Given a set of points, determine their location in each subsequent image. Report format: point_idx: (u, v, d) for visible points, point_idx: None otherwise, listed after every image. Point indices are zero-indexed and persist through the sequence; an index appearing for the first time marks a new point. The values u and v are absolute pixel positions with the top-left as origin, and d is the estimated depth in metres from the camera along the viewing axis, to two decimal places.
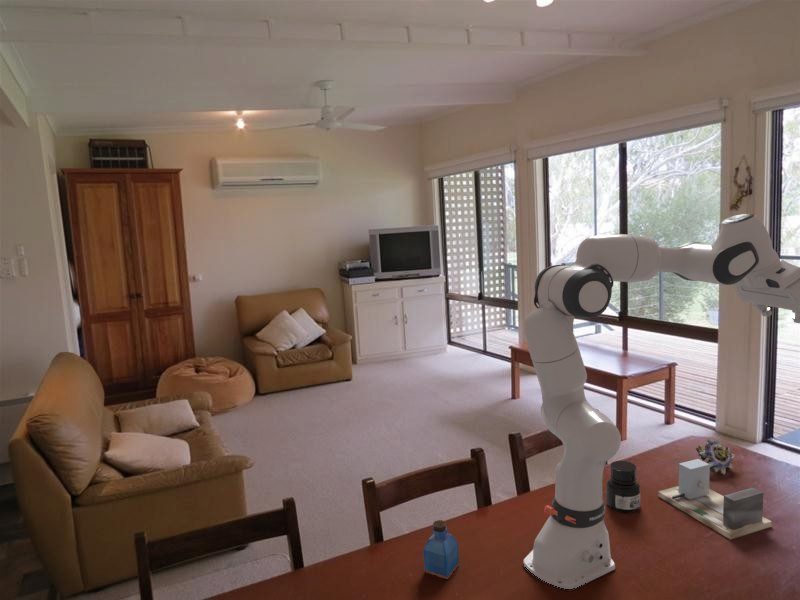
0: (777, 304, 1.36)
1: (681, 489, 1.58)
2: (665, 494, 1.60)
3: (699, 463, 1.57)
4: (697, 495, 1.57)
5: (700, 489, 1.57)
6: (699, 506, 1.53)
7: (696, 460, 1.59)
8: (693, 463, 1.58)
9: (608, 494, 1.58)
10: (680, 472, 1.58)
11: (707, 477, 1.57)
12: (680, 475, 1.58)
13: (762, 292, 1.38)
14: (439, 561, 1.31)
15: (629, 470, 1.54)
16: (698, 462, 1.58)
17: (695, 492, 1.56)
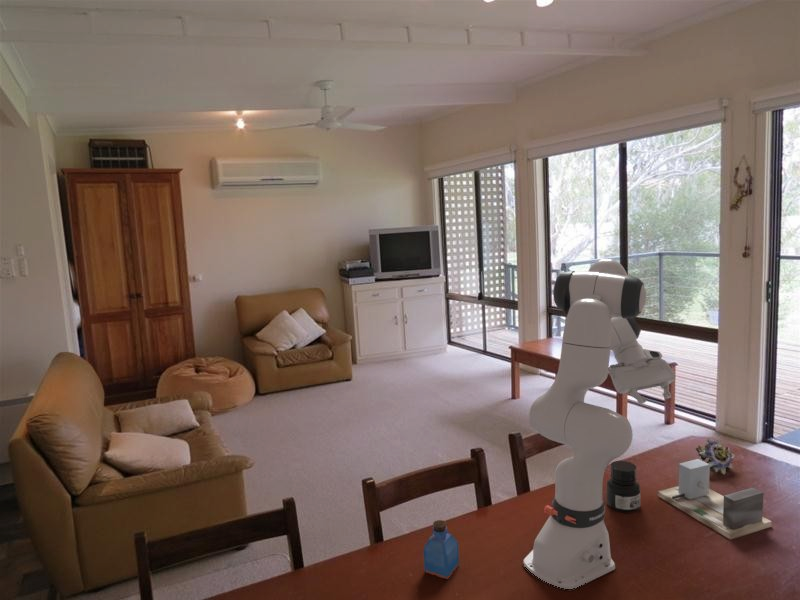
0: (655, 378, 1.70)
1: (681, 489, 1.58)
2: (665, 494, 1.60)
3: (699, 463, 1.57)
4: (697, 495, 1.57)
5: (700, 489, 1.57)
6: (699, 506, 1.53)
7: (696, 460, 1.59)
8: (693, 463, 1.58)
9: (608, 494, 1.58)
10: (680, 472, 1.58)
11: (707, 477, 1.57)
12: (680, 475, 1.58)
13: (641, 372, 1.71)
14: (439, 561, 1.31)
15: (629, 470, 1.54)
16: (698, 462, 1.58)
17: (695, 492, 1.56)
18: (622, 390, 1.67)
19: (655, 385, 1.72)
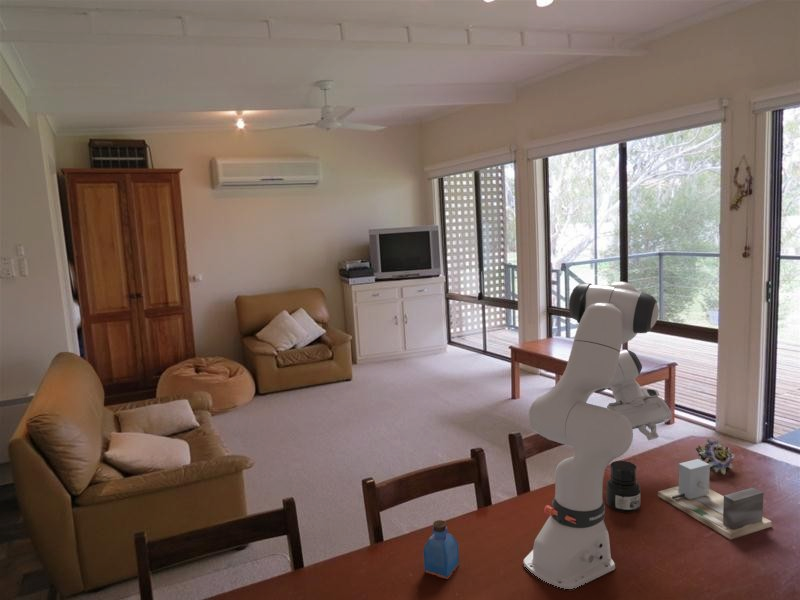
0: (653, 417, 1.74)
1: (681, 489, 1.58)
2: (665, 494, 1.60)
3: (699, 463, 1.57)
4: (697, 495, 1.57)
5: (700, 489, 1.57)
6: (699, 506, 1.53)
7: (696, 460, 1.59)
8: (693, 463, 1.58)
9: (608, 494, 1.58)
10: (680, 472, 1.58)
11: (707, 477, 1.57)
12: (680, 475, 1.58)
13: (639, 411, 1.75)
14: (439, 561, 1.31)
15: (629, 470, 1.54)
16: (698, 462, 1.58)
17: (695, 492, 1.56)
18: None
19: None
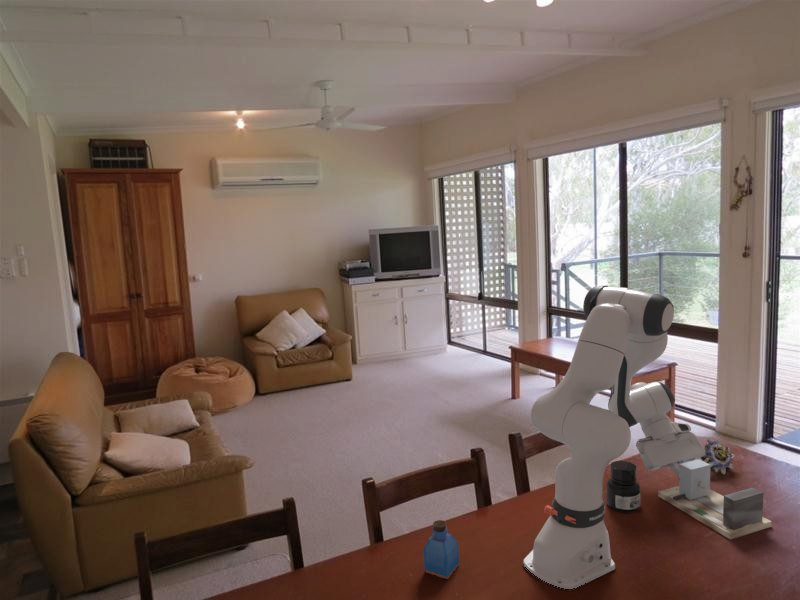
0: (686, 454, 1.63)
1: (682, 489, 1.58)
2: (665, 494, 1.60)
3: (700, 464, 1.57)
4: (698, 495, 1.56)
5: (701, 489, 1.56)
6: (699, 506, 1.53)
7: (697, 460, 1.59)
8: (694, 463, 1.58)
9: (608, 494, 1.58)
10: (681, 472, 1.58)
11: (708, 477, 1.57)
12: (681, 475, 1.58)
13: (671, 447, 1.64)
14: (439, 561, 1.31)
15: (629, 470, 1.54)
16: (699, 462, 1.58)
17: (696, 493, 1.56)
18: (652, 468, 1.60)
19: None
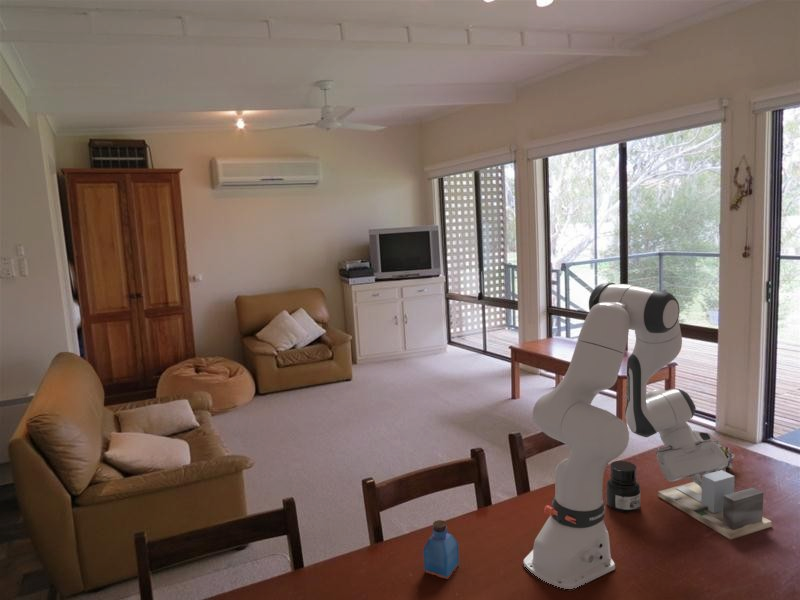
0: (707, 464, 1.56)
1: (704, 502, 1.51)
2: (665, 494, 1.60)
3: (724, 475, 1.50)
4: (721, 508, 1.49)
5: None
6: (699, 506, 1.53)
7: (720, 471, 1.52)
8: (717, 475, 1.50)
9: (608, 494, 1.58)
10: (703, 484, 1.51)
11: (732, 489, 1.50)
12: (703, 487, 1.51)
13: (692, 457, 1.57)
14: (439, 561, 1.31)
15: (629, 470, 1.54)
16: (722, 473, 1.51)
17: (720, 506, 1.49)
18: (673, 479, 1.53)
19: None
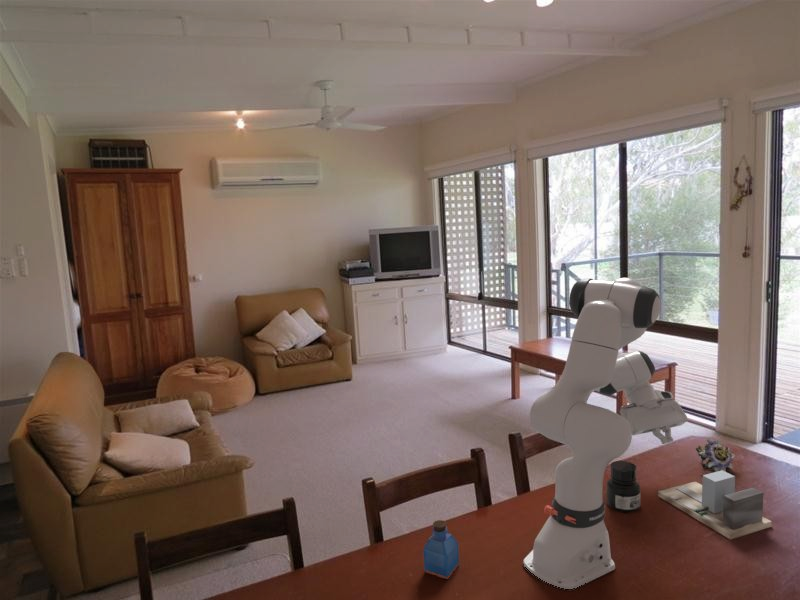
0: (667, 420, 1.69)
1: (705, 502, 1.51)
2: (665, 494, 1.60)
3: (724, 475, 1.50)
4: (722, 509, 1.49)
5: None
6: (699, 506, 1.53)
7: (720, 472, 1.52)
8: (718, 475, 1.50)
9: (608, 494, 1.58)
10: (704, 484, 1.50)
11: (732, 490, 1.49)
12: (704, 487, 1.51)
13: (653, 414, 1.69)
14: (439, 561, 1.31)
15: (629, 470, 1.54)
16: (723, 474, 1.51)
17: (720, 506, 1.49)
18: (634, 432, 1.65)
19: None
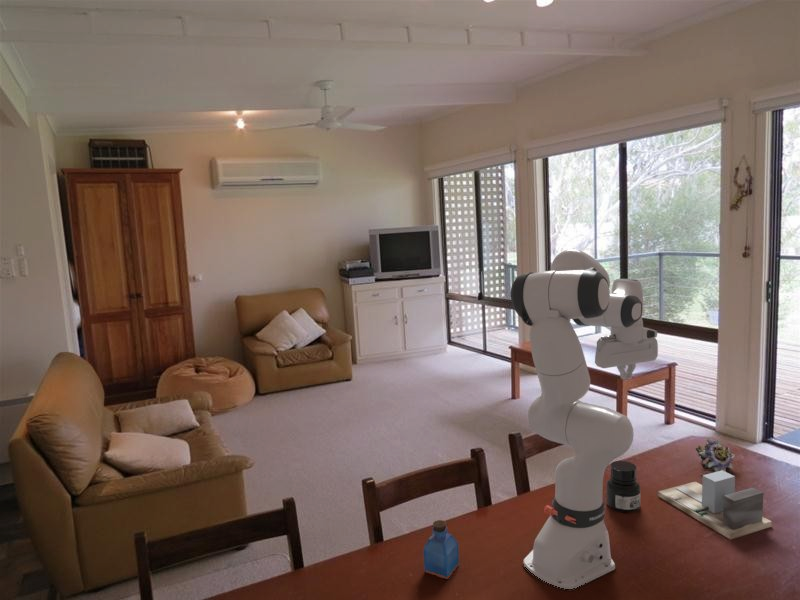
0: (637, 359, 1.64)
1: (705, 502, 1.51)
2: (665, 494, 1.60)
3: (724, 475, 1.50)
4: (722, 509, 1.49)
5: None
6: (699, 506, 1.53)
7: (720, 472, 1.52)
8: (718, 475, 1.50)
9: (608, 494, 1.58)
10: (704, 484, 1.50)
11: (732, 490, 1.49)
12: (704, 487, 1.51)
13: (628, 350, 1.63)
14: (439, 561, 1.31)
15: (629, 470, 1.54)
16: (723, 474, 1.51)
17: (720, 506, 1.49)
18: None
19: None
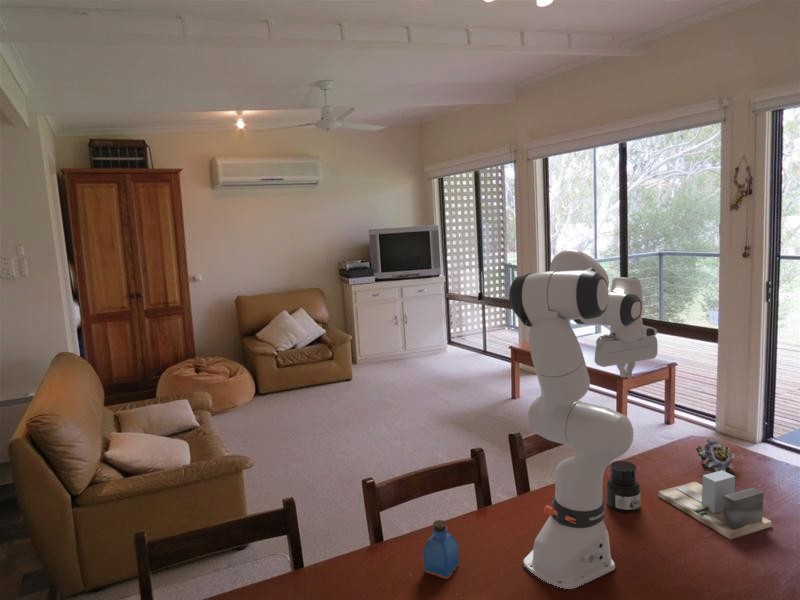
0: (637, 357, 1.64)
1: (705, 502, 1.51)
2: (665, 494, 1.60)
3: (724, 475, 1.50)
4: (722, 509, 1.49)
5: None
6: (699, 506, 1.53)
7: (720, 472, 1.52)
8: (718, 475, 1.50)
9: (608, 494, 1.58)
10: (704, 484, 1.50)
11: (732, 490, 1.49)
12: (704, 487, 1.51)
13: (627, 349, 1.62)
14: (439, 561, 1.31)
15: (629, 470, 1.54)
16: (723, 474, 1.51)
17: (720, 506, 1.49)
18: (600, 365, 1.61)
19: None
